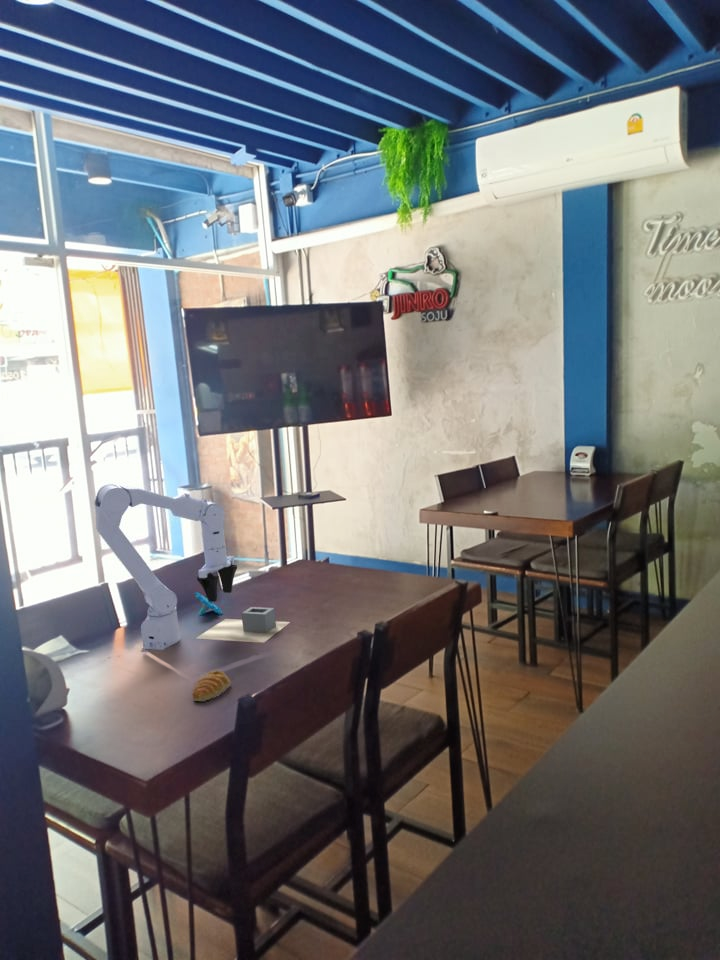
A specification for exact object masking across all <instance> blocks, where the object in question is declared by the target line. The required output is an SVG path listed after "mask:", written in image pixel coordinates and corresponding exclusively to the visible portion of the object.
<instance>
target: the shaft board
mask: <svg viewBox="0 0 720 960" xmlns="http://www.w3.org/2000/svg"><path fill="white" fill-rule="evenodd" d="M290 623H291V622H290V621H276V627H274V628H273V629H272V630H270V631H269V632H268V633H260V632H244V631H243V623H242V619H238V618H237V619H235V618H233V619H232V618H225V619H223V620H222V621H220V622H218V623H217V624H215V625H214V626H212V627H211V628H209V629H207V630H206V631H205V632H203V633H202V634H200V635H198V636H197V637H195V639H196V640H197V639H198V640H215V641H225V642H226V641H228V642H231V641H232V642H243V643H244V642H245V643H246V642H247V643H262V644H264V643H266V642H267V641H268V640H269V639H271V638H272V637H273V636H274V635H276V634H277V633H279V632H280V631H281V630H282V629H283V628H285V627H286V626H288V625H290Z"/></svg>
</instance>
